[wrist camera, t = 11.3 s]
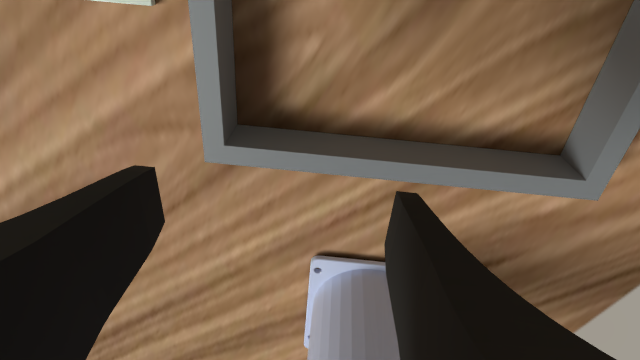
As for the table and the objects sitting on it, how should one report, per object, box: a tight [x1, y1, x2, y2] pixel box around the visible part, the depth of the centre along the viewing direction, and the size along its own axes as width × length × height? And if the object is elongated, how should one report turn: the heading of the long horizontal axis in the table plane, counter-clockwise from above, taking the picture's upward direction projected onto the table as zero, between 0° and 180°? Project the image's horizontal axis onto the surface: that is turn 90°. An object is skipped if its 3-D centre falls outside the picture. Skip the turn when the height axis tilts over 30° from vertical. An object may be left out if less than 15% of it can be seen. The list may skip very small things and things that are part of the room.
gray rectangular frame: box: [188, 0, 640, 201], centre depth 15 cm, size 13×19×2 cm
